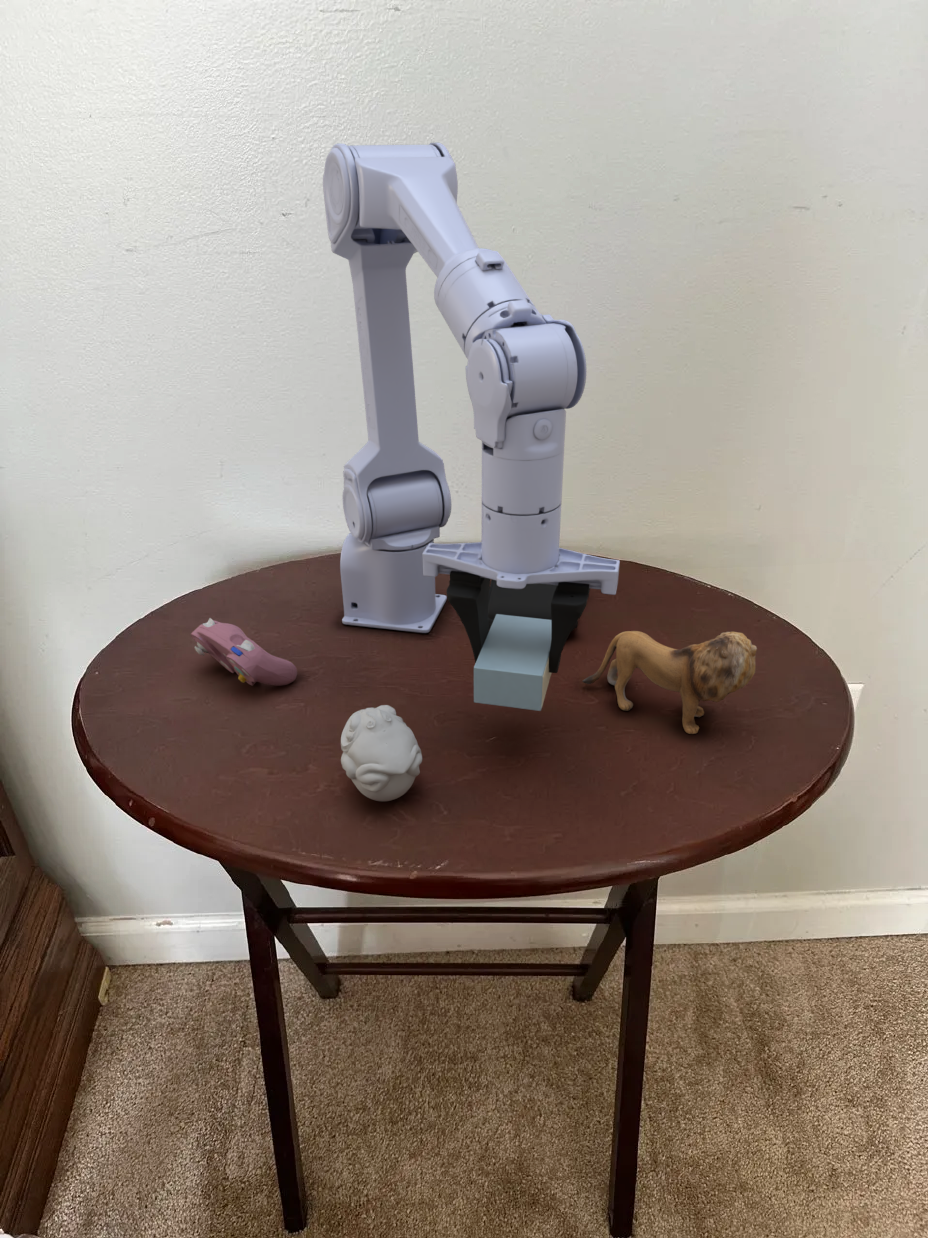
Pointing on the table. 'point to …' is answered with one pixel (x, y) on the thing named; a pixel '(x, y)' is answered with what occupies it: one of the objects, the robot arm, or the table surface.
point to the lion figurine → (681, 669)
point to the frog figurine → (380, 753)
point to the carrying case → (521, 601)
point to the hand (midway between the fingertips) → (517, 661)
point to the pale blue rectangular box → (514, 663)
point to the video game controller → (242, 654)
